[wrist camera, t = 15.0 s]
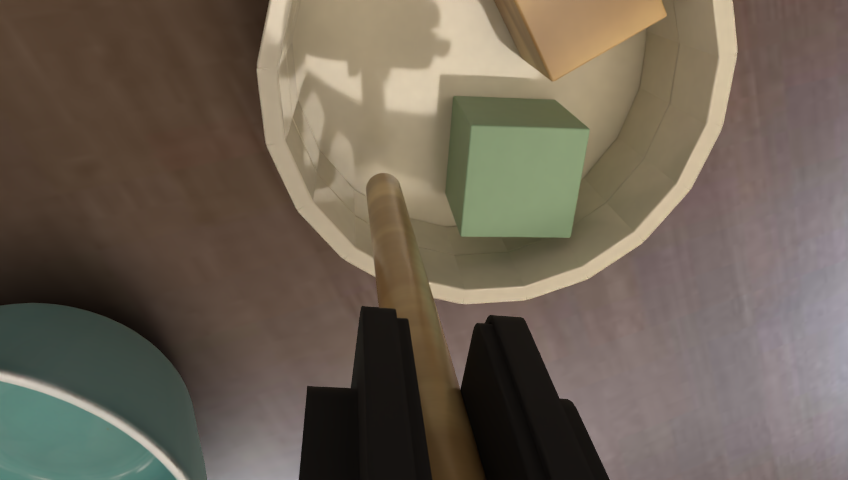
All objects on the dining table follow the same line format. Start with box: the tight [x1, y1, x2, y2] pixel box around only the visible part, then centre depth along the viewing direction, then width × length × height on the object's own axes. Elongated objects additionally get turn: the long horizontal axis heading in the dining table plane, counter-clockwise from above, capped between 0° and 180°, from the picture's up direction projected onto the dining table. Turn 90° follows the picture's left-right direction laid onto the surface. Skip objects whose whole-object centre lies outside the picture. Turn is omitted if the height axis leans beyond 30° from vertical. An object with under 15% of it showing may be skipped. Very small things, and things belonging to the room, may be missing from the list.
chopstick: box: [366, 173, 486, 480], centre depth 14 cm, size 1×1×18 cm
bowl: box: [0, 303, 207, 480], centre depth 25 cm, size 16×16×8 cm
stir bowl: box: [256, 0, 738, 304], centre depth 22 cm, size 14×14×6 cm
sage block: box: [445, 96, 590, 238], centre depth 23 cm, size 4×4×4 cm
